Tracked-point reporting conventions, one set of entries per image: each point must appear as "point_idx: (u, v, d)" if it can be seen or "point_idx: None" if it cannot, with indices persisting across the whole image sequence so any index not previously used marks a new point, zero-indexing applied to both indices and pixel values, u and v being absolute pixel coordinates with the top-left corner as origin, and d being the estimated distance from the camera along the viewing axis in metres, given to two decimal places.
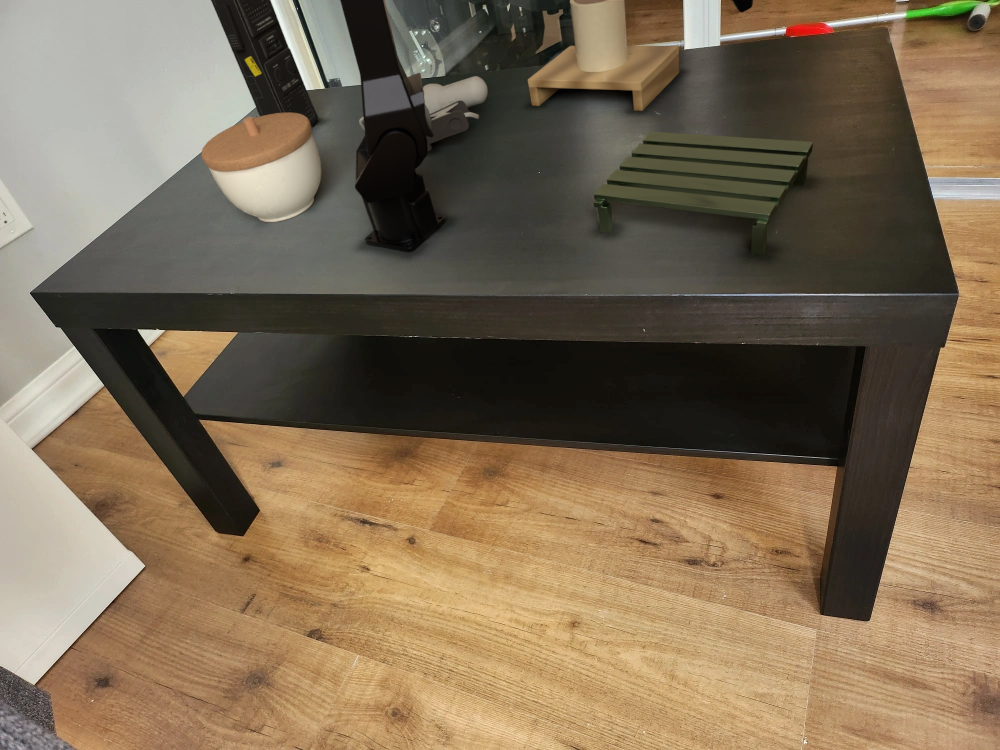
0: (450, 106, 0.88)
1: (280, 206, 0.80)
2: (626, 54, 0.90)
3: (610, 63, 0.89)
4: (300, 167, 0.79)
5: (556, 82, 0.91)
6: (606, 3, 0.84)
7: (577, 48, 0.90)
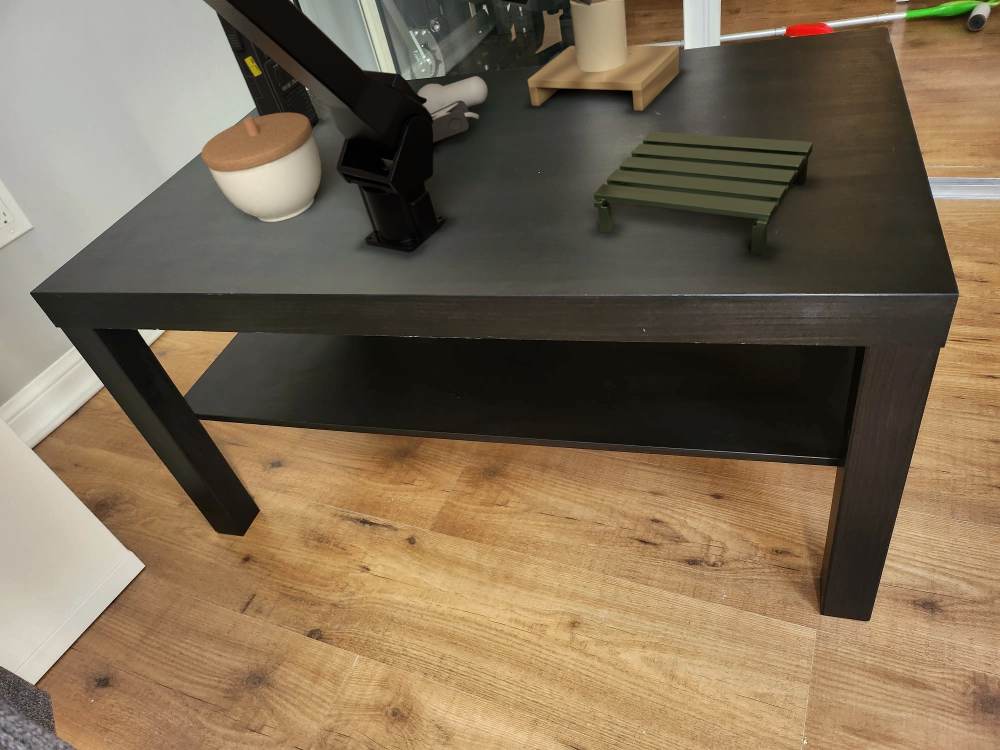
0: (450, 106, 0.88)
1: (280, 206, 0.80)
2: (626, 54, 0.90)
3: (610, 63, 0.89)
4: (300, 167, 0.79)
5: (556, 82, 0.91)
6: (606, 3, 0.84)
7: (577, 48, 0.90)
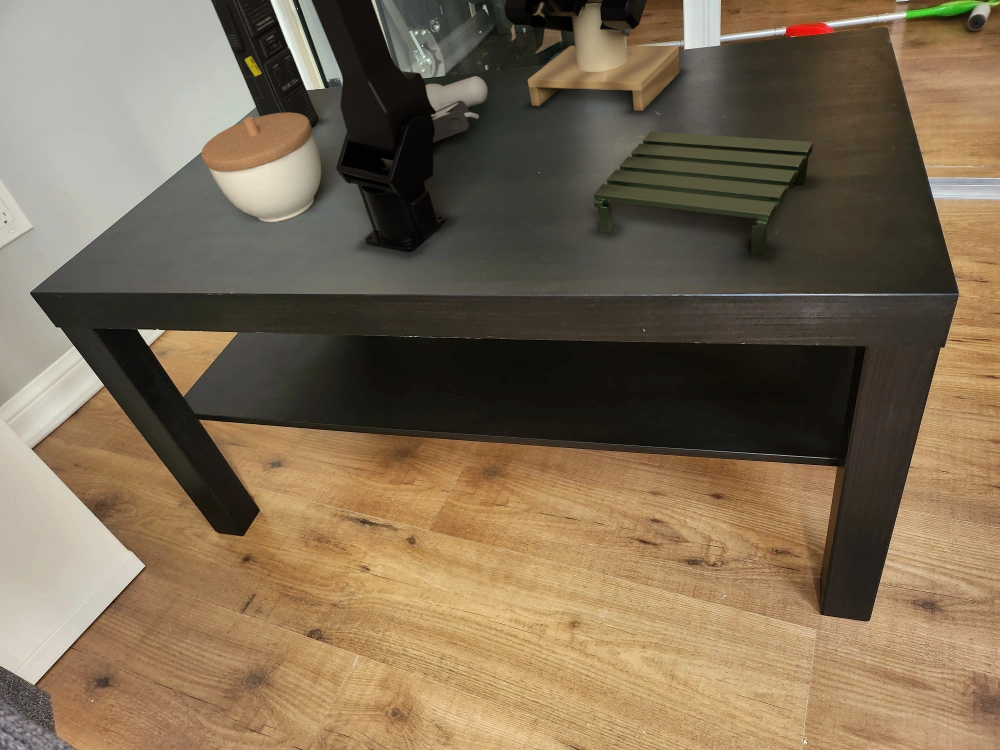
0: (450, 106, 0.88)
1: (280, 206, 0.80)
2: (626, 54, 0.90)
3: (610, 63, 0.89)
4: (300, 167, 0.79)
5: (556, 82, 0.91)
6: None
7: (577, 48, 0.90)
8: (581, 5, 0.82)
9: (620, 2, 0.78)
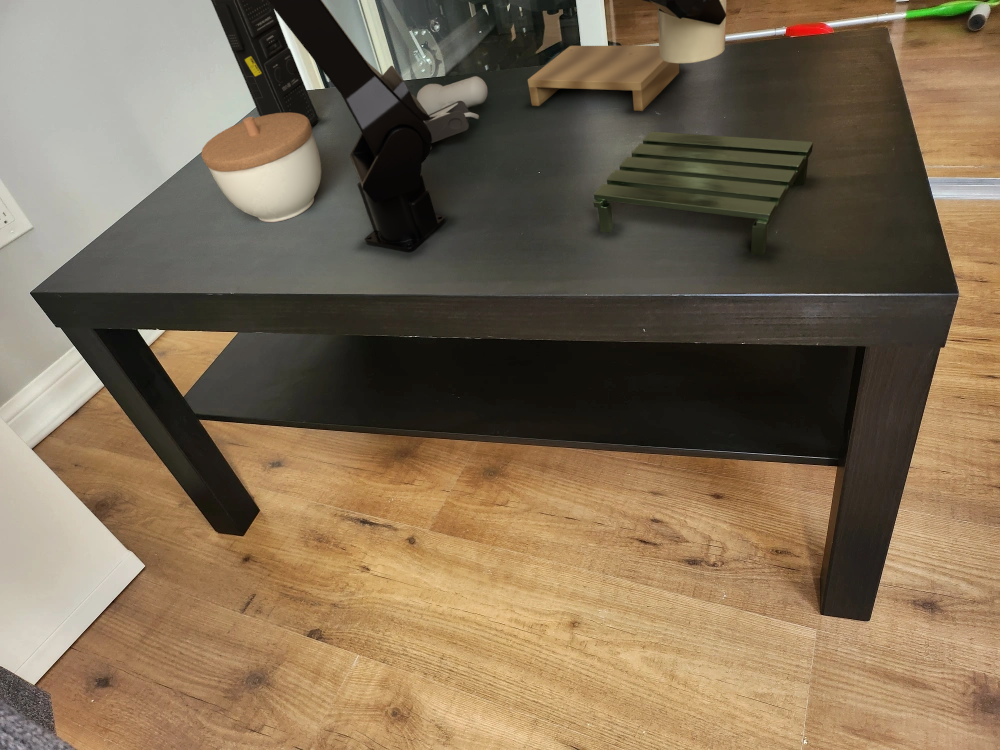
0: (450, 106, 0.88)
1: (280, 206, 0.80)
2: (715, 47, 0.70)
3: (686, 55, 0.70)
4: (300, 167, 0.79)
5: (556, 82, 0.91)
6: None
7: (658, 27, 0.72)
8: None
9: None
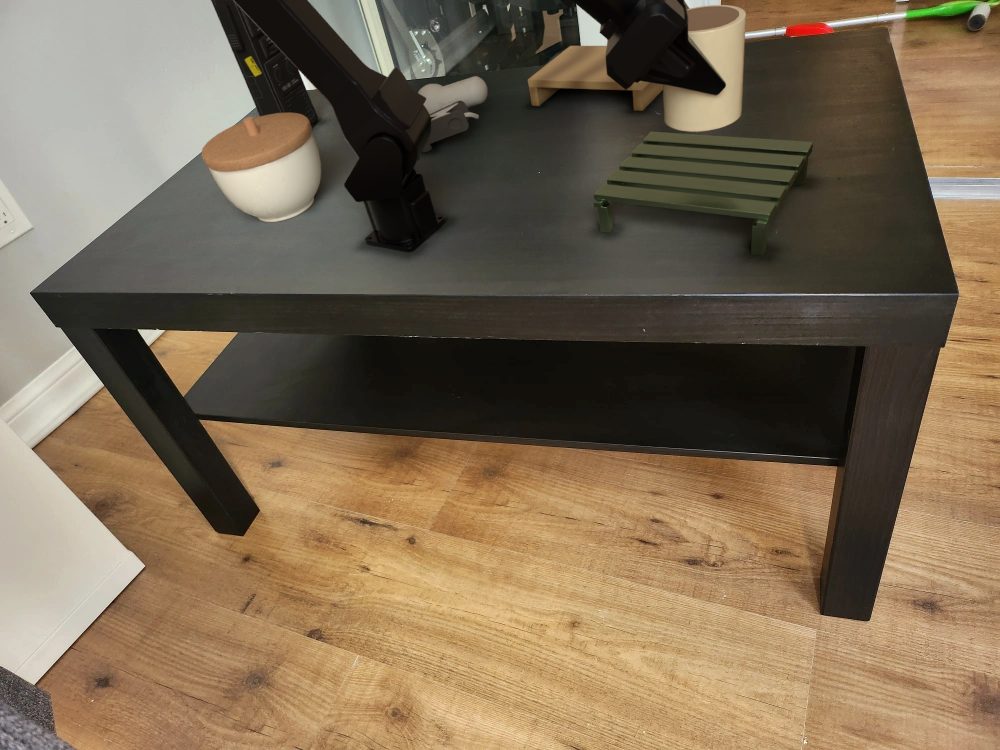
0: (450, 106, 0.88)
1: (280, 206, 0.80)
2: (714, 119, 0.59)
3: (679, 121, 0.60)
4: (300, 167, 0.79)
5: (556, 82, 0.91)
6: None
7: None
8: (618, 27, 0.56)
9: (612, 44, 0.52)
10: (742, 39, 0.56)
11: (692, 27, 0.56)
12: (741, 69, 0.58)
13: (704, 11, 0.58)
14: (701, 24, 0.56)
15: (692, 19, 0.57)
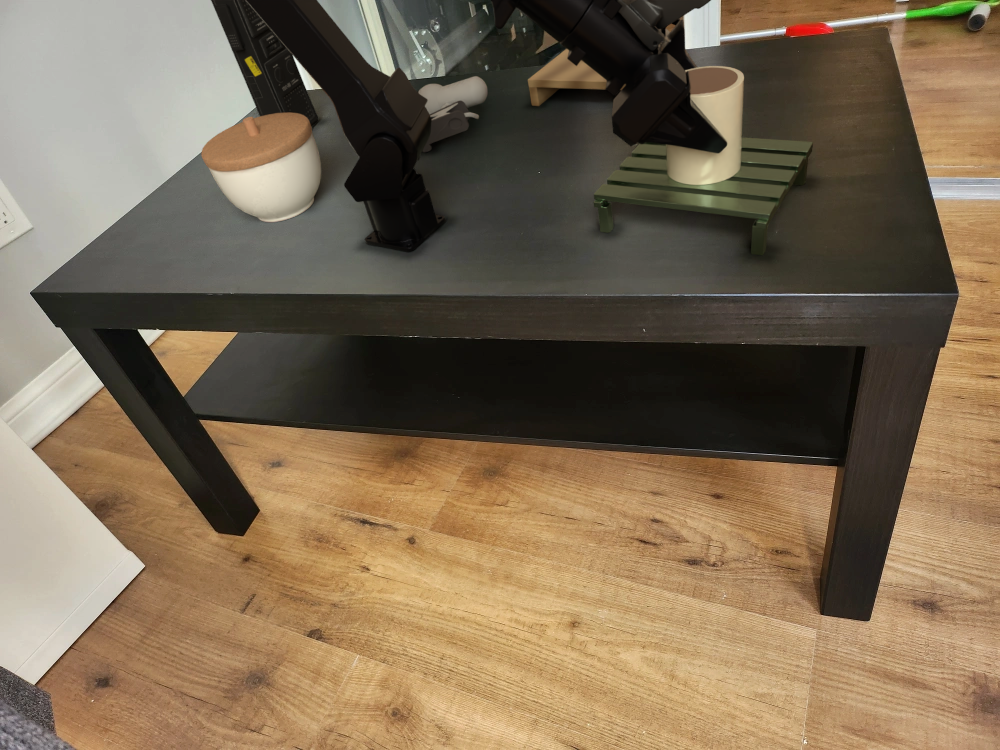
0: (450, 106, 0.88)
1: (280, 206, 0.80)
2: (715, 174, 0.62)
3: (681, 175, 0.63)
4: (300, 167, 0.79)
5: (556, 82, 0.91)
6: None
7: None
8: (623, 84, 0.59)
9: (618, 104, 0.55)
10: (741, 100, 0.60)
11: (694, 90, 0.59)
12: (740, 127, 0.61)
13: (704, 72, 0.61)
14: (702, 87, 0.59)
15: (693, 81, 0.60)
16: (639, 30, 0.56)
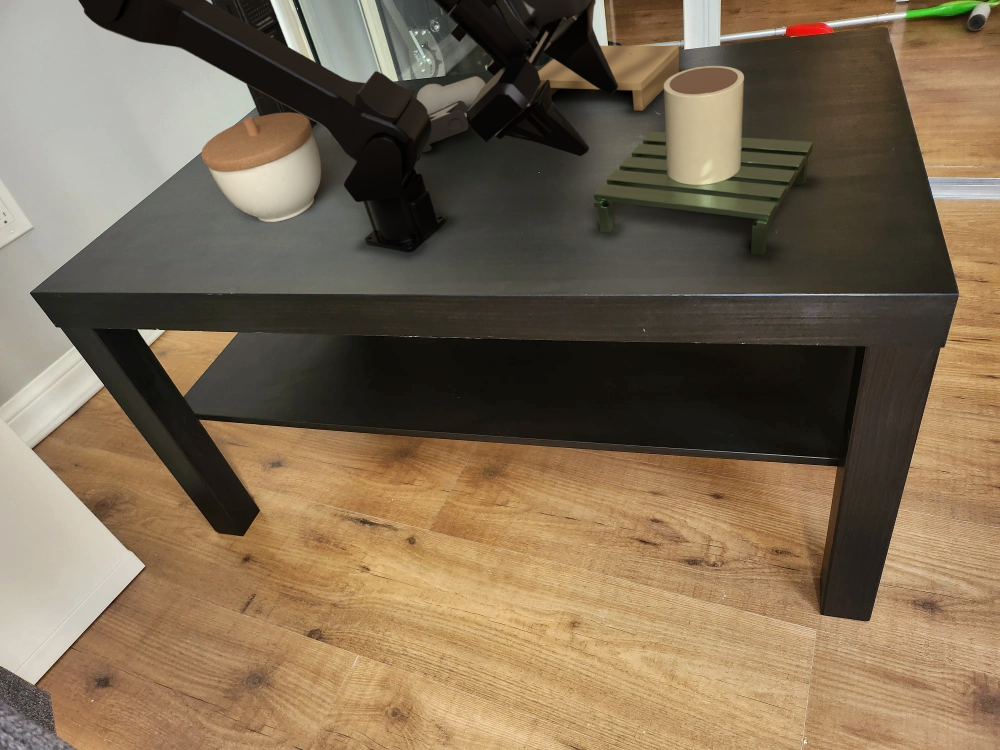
0: (450, 106, 0.88)
1: (280, 206, 0.80)
2: (715, 174, 0.62)
3: (681, 175, 0.63)
4: (300, 167, 0.79)
5: (556, 82, 0.91)
6: (681, 98, 0.59)
7: None
8: (503, 68, 0.60)
9: (475, 101, 0.57)
10: (741, 100, 0.60)
11: (694, 90, 0.59)
12: (740, 127, 0.61)
13: (704, 72, 0.61)
14: (702, 87, 0.59)
15: (693, 81, 0.60)
16: (513, 25, 0.56)
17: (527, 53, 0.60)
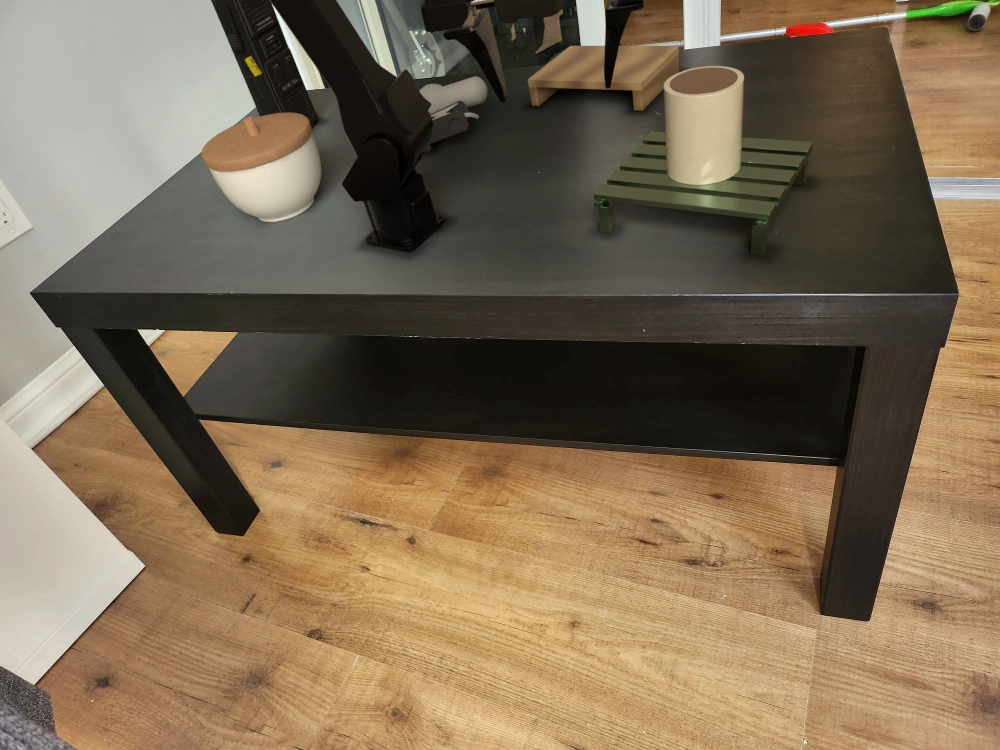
0: (450, 106, 0.88)
1: (280, 206, 0.80)
2: (715, 174, 0.62)
3: (681, 175, 0.63)
4: (300, 167, 0.79)
5: (556, 82, 0.91)
6: (681, 98, 0.59)
7: None
8: None
9: None
10: (741, 100, 0.60)
11: (694, 90, 0.59)
12: (740, 127, 0.61)
13: (704, 72, 0.61)
14: (702, 87, 0.59)
15: (693, 81, 0.60)
16: None
17: None
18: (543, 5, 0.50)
